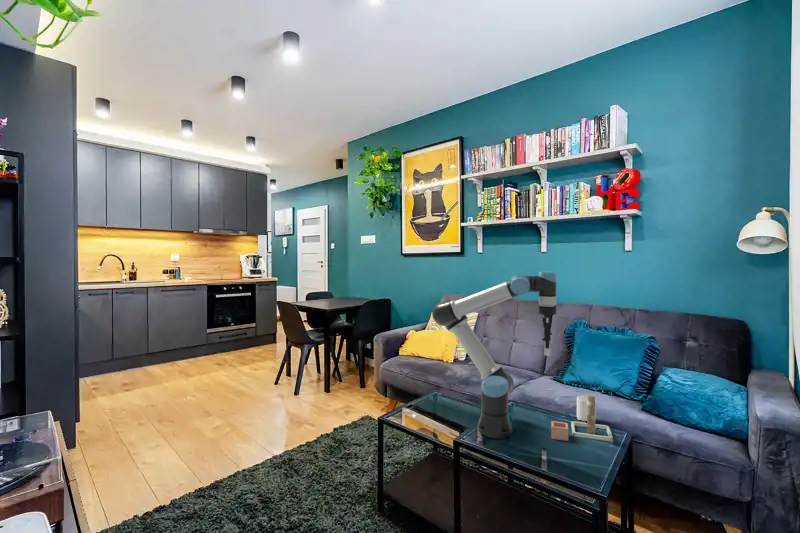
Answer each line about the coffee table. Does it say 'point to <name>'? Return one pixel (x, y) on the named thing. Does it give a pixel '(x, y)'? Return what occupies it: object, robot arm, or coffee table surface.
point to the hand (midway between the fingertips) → (547, 352)
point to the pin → (591, 414)
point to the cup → (583, 408)
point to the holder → (559, 430)
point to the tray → (591, 436)
